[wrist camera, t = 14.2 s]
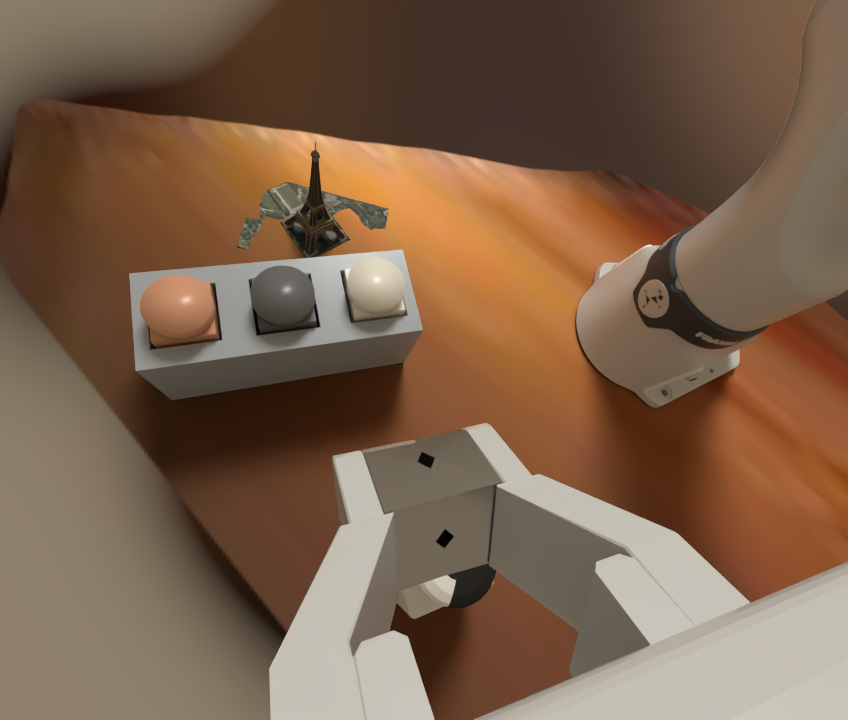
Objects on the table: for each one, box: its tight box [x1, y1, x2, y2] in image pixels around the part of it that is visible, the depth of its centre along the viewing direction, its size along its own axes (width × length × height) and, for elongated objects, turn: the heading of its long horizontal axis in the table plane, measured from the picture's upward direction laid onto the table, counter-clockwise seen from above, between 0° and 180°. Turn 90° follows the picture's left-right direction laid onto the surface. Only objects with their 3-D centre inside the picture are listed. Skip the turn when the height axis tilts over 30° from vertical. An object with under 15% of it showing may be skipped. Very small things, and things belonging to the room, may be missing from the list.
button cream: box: [343, 257, 405, 323], centre depth 41 cm, size 5×5×8 cm
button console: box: [129, 250, 423, 400], centre depth 41 cm, size 22×8×9 cm, turn 103°
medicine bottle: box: [397, 563, 496, 619], centre depth 36 cm, size 7×7×12 cm
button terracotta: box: [140, 275, 222, 349], centre depth 36 cm, size 5×5×8 cm
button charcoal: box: [250, 265, 316, 335], centre depth 38 cm, size 5×5×8 cm
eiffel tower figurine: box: [237, 142, 389, 258], centre depth 44 cm, size 15×10×13 cm
